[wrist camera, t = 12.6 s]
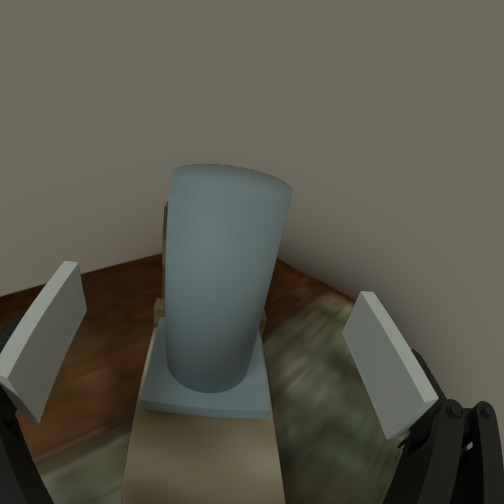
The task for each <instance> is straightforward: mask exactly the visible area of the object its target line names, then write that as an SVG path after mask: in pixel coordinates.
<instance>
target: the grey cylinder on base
mask: <svg viewBox="0 0 504 504" xmlns="http://www.w3.org/2000/svg"><path fill="white" fill-rule="evenodd" d="M291 194H292V188H291V186H290V185H288V184H287V183H286V182H284V181H283V180H281V179H279V178H276V177H274V176H271V175H269V174H266V173H263V172H259V171H255V170H252V169H247V168H241V167H236V166H229V165H219V164H192V165H185V166H181V167H177V168H175V169H173V170H172V172H171V175H170V187H169V200H168V215H167V233H166V260H165V317H160V319H159V323H158V327H157V331H156V335H155V339H154V343H153V347H152V351H151V356H150V360H149V364H148V369H147V373H146V378H145V383H144V387H143V392H142V397H141V402H142V406H143V409H149V410H155V411H162V412H169V413H177V414H186V415H195V416H207V417H221V418H244V419H267V416H268V414H269V412H270V405H269V398H268V391H267V383H266V376H265V369H264V361H263V354H262V347H261V339H260V332H259V325H260V322H261V318H262V314H263V310H264V306H265V302H266V298H267V294H268V290H269V286H270V282H271V278H272V274H273V270H274V266H275V262H276V258H277V254H278V249H279V246H280V241H281V237H282V232H283V229H284V224H285V220H286V216H287V212H288V207H289V203H290V198H291Z"/></svg>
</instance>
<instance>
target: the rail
mask: <svg viewBox="0 0 504 504" xmlns="http://www.w3.org/2000/svg"><path fill="white" fill-rule="evenodd" d="M167 215H168V202H167V203H166V205H165V208H164V225H163V252H162V299H160V298H157V299H156V302H155V305H154V308H153V309H154V330H153V334H152V338H151V342H150V346H149V350H148V354H147V358H146V363H145V367H144V371H143V376H142V380H141V385H140V389H139V394H138V399H137V404H136V408H135V414H134V419H133V424H132V429H131V435H130V441H129V447H128V453H127V459H126V466H125V473H124V480H123V488H122V497H121V504H286V503H285V496H284V489H283V482H282V475H281V468H280V462H279V455H278V448H277V441H276V434H275V427H274V420H273V413H272V406H271V399H270V392H269V385H268V377H267V370H266V363H265V356H264V349H263V342H262V336H263V332H264V329H265V325H266V322H267V319H266V313H265V310H263V314H262V318H261V322H260V325H259V332H260V339H261V347H262V354H263V361H264V369H265V376H266V383H267V391H268V398H269V405H270V412H269V414H268V416H267V419H244V418H221V417H207V416H195V415H186V414H177V413H169V412H162V411H155V410H149V409H143V406H142V402H141V397H142V392H143V387H144V383H145V378H146V373H147V369H148V364H149V360H150V356H151V351H152V347H153V343H154V339H155V335H156V331H157V327H158V323H159V319H160V317H165V260H166V233H167Z"/></svg>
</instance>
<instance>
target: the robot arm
mask: <svg viewBox="0 0 504 504" xmlns="http://www.w3.org/2000/svg"><path fill="white" fill-rule="evenodd" d="M86 311H87V308H86V303H85V298H84V293H83V287H82V281H81V275H80V270H79V263H77V262H70V261H64V262H63V264H62V265H61V266H60V267H59V268H58V270H57V271H56V272H55V274H54V275H53V276H52V278H51V279H50V280H49V281H48V283H47V284H46V285H45V287H44V288H43V289H42V291H41V292H40V294H39V295H38V296H37V298H36V299H35V301H34V302H33V303H32V305H31V306H30V308H29V309H28V311H27V312H26V314H25V315H24V317H23V318H19V317H16V318H14V319H13V320H12V321H11V322H9V323H8V324H7V325H6V327H5V328H4V330H3V331H2V333H1V335H0V504H54V502H53V500H52V499H51V497H50V495H49V493H48V491H47V489H46V487H45V485H44V483H43V481H42V479H41V477H40V475H39V473H38V471H37V469H36V466H35V464H34V462H33V460H32V457H31V455H30V452H29V450H28V448H27V445H26V442H25V440H24V437H23V434H22V432H21V429H20V426H19V423H18V420H17V418H16V416H15V413H16V410H17V409H18V411H19V412H20V413H21V414H22V416H23V417H25V418H28V419H30V420H33V421H35V422H38V423H39V422H40V419H41V416H42V413H43V410H44V407H45V405H46V402H47V399H48V397H49V394H50V391H51V389H52V386H53V384H54V381H55V379H56V376H57V374H58V371H59V369H60V367H61V364H62V362H63V360H64V358H65V355H66V353H67V351H68V349H69V346H70V344H71V342H72V340H73V338H74V336H75V334H76V332H77V329H78V327H79V325H80V323H81V321H82V319H83V317H84V315H85V313H86ZM342 335H343V337H344V339H345V341H346V344H347V346H348V348H349V350H350V353H351V355H352V357H353V360H354V362H355V364H356V366H357V369H358V371H359V373H360V376H361V378H362V380H363V383H364V385H365V388H366V390H367V392H368V395H369V397H370V400H371V402H372V405H373V407H374V409H375V412H376V414H377V417H378V419H379V422H380V424H381V427H382V430H383V432H384V435H385V437H386V440H388V439H392V438H396V437H400V436H401V435H403V434H404V433H405V432H406V431H407V430H408V429H409V430H410V433H411V434H410V435H409V436H408V437H407V438H405V439H404V440H403V441H402V442H401V443H400V444H399V445H398V448H400V447H401V446H402V445H404V444H405V446H404V448H403V449H402V450H403V452H402V455H401V458H400V461H399V464H398V467H397V469H396V472H395V475H394V477H393V480H392V482H391V485H390V487H389V489H388V492H387V494H386V496H385V499H384V501H383V503H382V504H504V468H503V458H502V450H501V442H500V436H499V430H498V424H497V419H496V414H495V411H494V409H493V407H492V406H491V405H490V404H489V403H487V402H485V401H480V402H479V403H478V404H477V405H476V406H475V407H474V408H473V409H472V408H463V407H462V406H461V405H460V404H459V403H458V402H457V401H455V400H452V399H446V397H445V396H444V394H443V392H442V390H441V388H440V387H439V385H438V383H437V381H436V380H435V378H434V376H433V375H432V374H431V371H430V370H429V368H428V367H427V365H426V363H425V361H424V360H423V358H422V357H421V356H420V355H419V354H418V353H417V352H416V351H415V350H414V349H412V350H410V348H409V346H408V345H407V343H406V342H405V340H404V338H403V337H402V335H401V333H400V332H399V330H398V329H397V327H396V326H395V324H394V322H393V321H392V319H391V318H390V316H389V315H388V313H387V312H386V310H385V309H384V307H383V306H382V304H381V303H380V301H379V300H378V298H377V297H376V295H375V294H374V292H364V291H361V292H360V294H359V296H358V299H357V301H356V303H355V305H354V308H353V310H352V312H351V314H350V316H349V319H348V321H347V323H346V325H345V327H344V329H343V331H342ZM471 442H472V443H473V447H472V448H471V449H469V450H468V449H467V445H468V444H469V443H471Z"/></svg>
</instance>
